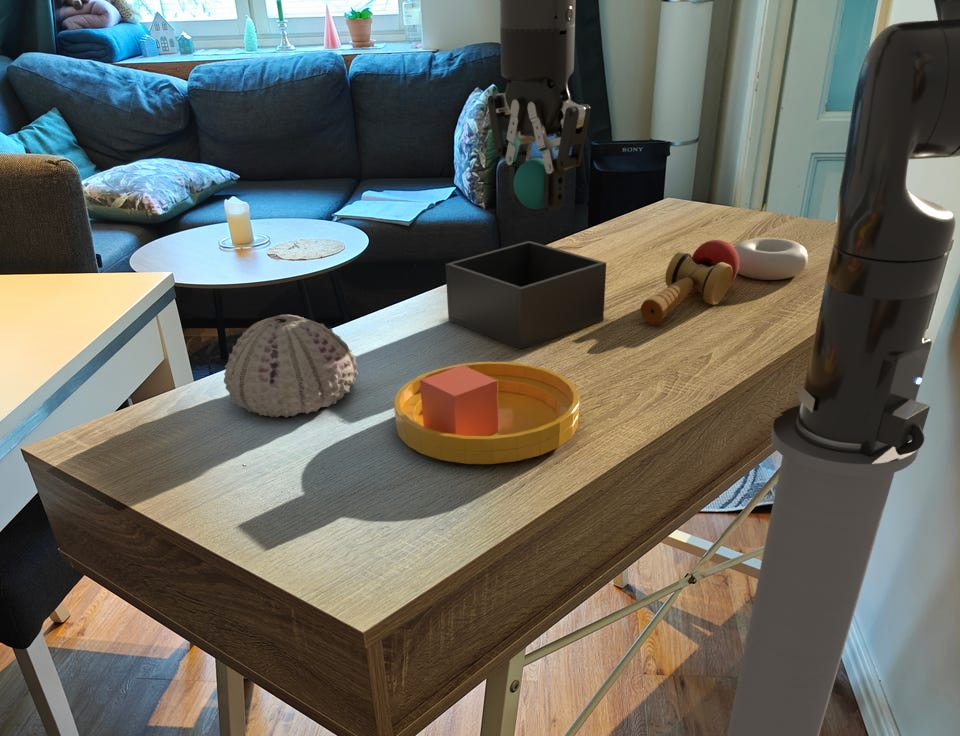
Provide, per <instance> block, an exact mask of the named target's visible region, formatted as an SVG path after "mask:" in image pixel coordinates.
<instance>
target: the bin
mask: <svg viewBox="0 0 960 736" xmlns="http://www.w3.org/2000/svg"><path fill="white" fill-rule="evenodd" d="M444 266H445V280H446V282H445V283H446V298H447V299H446V300H447V302H446V303H447V315H448V316H447V317H448V318H447V319H448V321H449V322H451V323H454V324H456V325H458V326H461V327H464V328H467V329H468V330H471V331H473V332H476V333H479V334H481V335H484V336H486V337H489V338H491V339H494V340H496V341H499V342H501V343H503V344H506V345H509V346H512V347H514V348H517V349H519V350H525V349H526V348H529V347H532V346H535V345H539V344H540V343H543V342H546V341H549V340H552V339H554V338H557V337H560V336H563V335H565V334H569V333H571V332H575V331H577V330H580V329H582V328H585V327H589V326H591V325H594V324H597V323H600V322H603V321H604V315H605V298H606V278H607V262H606V261H601V260H598V259H594V258H592V257H588V256H583V255H580V254H576V253H573V252H571V251H566V250H563V249H560V248H556V247H552V246H548V245H545V244H542V243H539V242H534V241H531V240H527V241H522V242H520V243H517V244H513V245H512V244H511V245H509V246H505V247H501V248H499V249H494V250H491V251H487V252H483V253H480V254H477V255H472V256H470V257H466V258H462V259H459V260H454V261H451V262H448V263H445V265H444Z"/></svg>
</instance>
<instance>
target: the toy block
mask: <svg viewBox="0 0 960 736" xmlns="http://www.w3.org/2000/svg"><path fill="white" fill-rule="evenodd" d="M420 388H421V401H422V414H423V426H424V427H425V428H429V429H432V430H435V431H439V432H442V433H449V434H456V435H464V436H489V435H491V434H494V433H496V432H498V391H497V380H495V379H493V378H491V377H488V376H486V375H484V374H482V373H479V372H477V371H475V370H472V369H470V368H468V367H466V366H463V365H461V366H459V367H456V368H453V369H450V370H447V371H444V372H442V373H439V374H436V375H433V376H430V377H427V378H424V379H422V380H420Z"/></svg>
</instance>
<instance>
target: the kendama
mask: <svg viewBox="0 0 960 736" xmlns="http://www.w3.org/2000/svg"><path fill="white" fill-rule="evenodd" d="M734 247H735V246H733V245H732V244H731V243H730V242H729V241H726V240H723V239H710V240H708V241H705V242H703V243H702V244H700V246H698V247H696V249H695V251H694V252H693V254H692V255H691V253H690V252H688V251H684V250H679V251H677V252H676V253H675V254H674V255H673V256H672V257H671V259H670V261H669V263H668V265H667V268H666V272H665V276H664V277H665V285H666V286H667V287H665V288H664V289H662V290H661V291H659V292H657V293H656V294H654V295H653V296H651V297H648V298H647V299H646V300H644V301H643V302H642V303H641V305H640V315H641V317H642V319H643V320H644V321H645V322H646V323H647V324H649V325H651V326H652V325H658V324H659V323H661V322H662V321H663V320H664V318H666V316H667V315H668V314H669V313H670V312H672V311H673V310H674V309H675V308H676V307H677V306H678V305H679V304H680V303H681V302H682V301H683V300H684V299H685V298H686V297H687V296H688V294H689V293H690V292H691V291H692V290H693V289H695V290H696V291H699V292H700V294H701V296H702V298H703V302H705V303H706V304H710V305H713V306H715V305H718V304H719V303H720V302H721V301H722V300H723V299H724V297H725V295H726V294H727V293H728V290H729V288H730V287H731V283H732V282H733V281H734V280H735V278H736V277H737V275H738V273H737V272H738V269H739V257H738V254H737V251H736V250H735V248H734Z"/></svg>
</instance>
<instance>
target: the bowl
mask: <svg viewBox="0 0 960 736" xmlns="http://www.w3.org/2000/svg"><path fill="white" fill-rule="evenodd" d="M461 365H463V366H466V367H468V368H470V369H472V370H475V371H477V372H479V373H482V374H484V375H486V376H488V377H491V378H493V379H495V380H497V391H498V432H496V433H494V434H491V435H489V436H464V435H456V434H449V433H442V432H439V431H435V430H432V429H429V428H425V427H424V426H423V414H422V401H421V388H420V380H422V379H424V378H427V377H430V376H433V375H436V374H439V373H442V372H444V371H447V370H450V369H453V368H456V367H459V366H461ZM393 411H394V420H395V421H394V422H395V428H396V432H397V436H398V437H399V438H400V440H402V442H403V443H404V444H405V445H406V446H407V447H409V448H410V449H412V450H414V451H416V452H418V453H419V454H422V455H424V456H426V457H430V458H433V459H437V460H440V461H445V462H451V463H459V464H466V465H494V464H496V465H497V464H503V463H511V462H512V463H513V462H517V461H518V462H519V461H523V460H527V459H532V458H534V457H538V456H542V455H544V454H547V453H549V452H552V451H553V450H555V449H556V450H557V449H558V448H560V447H561V446H563V445H564V444H565V443H566V442H568V441H569V440H571V439H572V437H573V436H574V434H575V433H576V432H577V430H578V428H579V421H580V420H579V419H580V418H579V417H580V392H579V390H578V388H577V387H576V385H575V384H574V382H572V381H571V380H569V379H568V378H566V377H565V376H563V374H560V373H558V372H555V371H552V370H551V369H547V368H544V367H541V366H537V365H531V364H527V363H522V362H521V363H520V362H510V361H478V362H468V363H460V364H458V363H457V364H453V365H450V366H444V367H439V368H437V369H433V370H431V371H428V372H425V373H422V374H420V375H418V376H416V377H415V378H413V379H411V380H409V381H408V382H406V383H405V384H404V385H403V386H402V387H401V388H400V389H399V390H398V391H397V393H396V395H395V398H394V399H393Z"/></svg>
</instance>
